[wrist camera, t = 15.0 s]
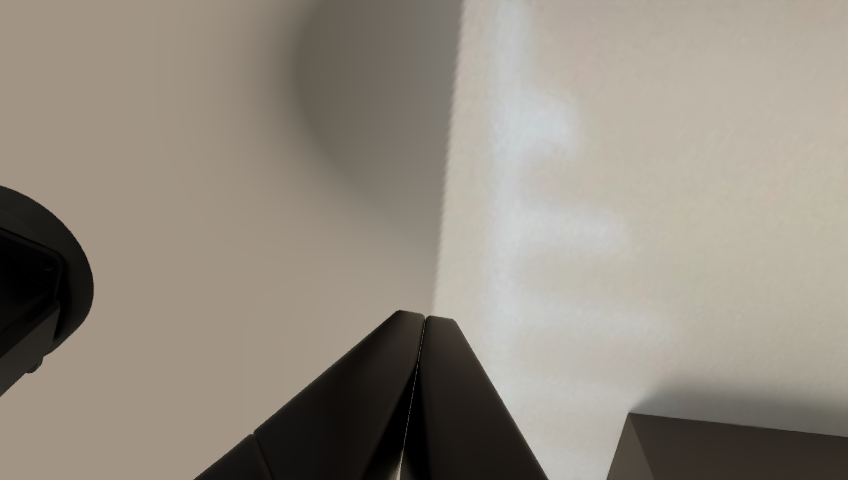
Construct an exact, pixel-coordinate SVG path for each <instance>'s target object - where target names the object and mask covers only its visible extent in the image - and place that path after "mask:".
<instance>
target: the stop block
mask: <svg viewBox="0 0 848 480" xmlns="http://www.w3.org/2000/svg"><path fill="white" fill-rule="evenodd" d="M607 480H848V437H839V436H830V435H821V434H812V433H803V432H794V431H785V430H776V429H767V428H758V427H749V426H740V425H731V424H722V423H713V422H704V421H695V420H686V419H677V418H668V417H659V416H651V415H642V414H633V413H629V414H628V416H627V419H626V422H625V425H624V428H623V431H622V435H621V438H620V441H619V444H618V447H617V450H616V453H615V456H614V459H613V462H612V465H611V468H610V471H609V474H608V477H607Z"/></svg>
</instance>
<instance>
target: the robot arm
mask: <svg viewBox="0 0 848 480" xmlns="http://www.w3.org/2000/svg"><path fill="white" fill-rule="evenodd" d="M47 259H49V260H50V261H52V263H53V265H52V264H50V263H49V262H48V260H47ZM65 265H66V260H65V258H64V256H63V255H62V254H61V253H60V252H59V251H57V250H55V249H53V248H50V247H48V246H45V245H43V244H40V243H38V242H36V241H33V240H31V239H28V238H26V237H23V236H21V235H19V234H16V233H14V232H11V231H9V230H7V229H4V228H2V227H0V397H1V396H2V395H3V394H4V393H5V392H6V391H7V390H8V389H9V388H10V387H11V386H12V385H13V384H14V383H15V382H17V381H18V380H19V379H20V378H21V377H22V376H23V375H24V374H25V373H33V372H34V371H36V370H37V369H38V368H39V367H40V366H41V364H42V361H43V357H44V355H45V354H46V353H47V352H48V351H49V350H50V349H51V346H52V341H53V337H54V333H55V329H56V325H57V321H58V317H59V313H60V309H61V307H60V304H59V301H57V299H58V295H59V291H60V286H61V282H62V278H63V274H64V270H65ZM424 324H425V326H424ZM423 330H424V332H423ZM422 336H423V338H422ZM421 342H422V344H421ZM420 347H421V350H420ZM419 353H420V355H419ZM418 359H419V361H418ZM417 365H418V367H417ZM416 371H417V373H416ZM415 377H416V379H415ZM414 382H415V385H414ZM413 388H414V390H413ZM412 394H413V396H412ZM411 400H412V402H411ZM410 406H411V408H410ZM409 412H410V414H409ZM408 417H409V420H408ZM407 423H408V425H407ZM406 429H407V431H406ZM405 435H406V437H405ZM404 441H405V443H404ZM403 447H404V449H403ZM402 452H403V455H402ZM401 457H402V463H401V471H400V480H549V479H548V478H547V476H546V474H545V473H544V471H543V469H542V468H541V466H540V464H539V462H538V461H537V459H536V457H535V456H534V454H533V452H532V451H531V449H530V447H529V445H528V444H527V442H526V440H525V439H524V437H523V435H522V434H521V432H520V430H519V428H518V427H517V425H516V423H515V422H514V420H513V418H512V417H511V415H510V413H509V411H508V410H507V408H506V406H505V405H504V403H503V401H502V400H501V398H500V396H499V394H498V393H497V391H496V389H495V388H494V386H493V384H492V382H491V381H490V379H489V377H488V376H487V374H486V372H485V371H484V369H483V367H482V365H481V364H480V362H479V360H478V359H477V357H476V355H475V354H474V352H473V350H472V348H471V347H470V345H469V343H468V342H467V340H466V338H465V337H464V335H463V333H462V331H461V330H460V328H459V326H458V325H457V323H456V322H455V321H454V320H453V319H449V318H443V317H437V316H428V317H427V318H426V320H425V316H424V315H423V314H420V313H414V312H408V311H402V310H399V311H396V312H395V313H394V314H392V315H391V316H390V317H389V318H388V319H387V320H385V321H384V322H383V323H382V324H381V325H380V326H378V327H377V328H376V329H375V330H374V331H372V332H371V333H370V334H369V335H368V336H366V337H365V338H364V339H363V340H362V341H360V342H359V343H358V344H357V345H356V346H354V347H353V348H352V349H351V350H350V351H348V353H346V354H345V355H344V356H343V357H341V358H340V359H339V360H338V361H337V362H335V363H334V364H333V365H332V366H331V367H329V368H328V369H327V370H326V371H325V372H323V373H322V374H321V375H320V376H319V377H318V378H317V379H315V380H314V381H313V382H312V383H310V384H309V385H308V386H307V387H306V388H304V389H303V390H302V391H301V392H300V393H298V394H297V395H296V396H295V397H294V398H293V399H291V400H290V401H289V402H288V403H287V404H285V405H284V406H283V407H282V408H281V409H280V410H278V411H277V412H276V413H275V414H274V415H272V416H271V417H270V418H269V419H268V420H266V421H265V422H264V423H263V424H262V425H260V427H258V428H257V429H256V430H255V431H254V433H253V434H250V435H248V436H247V437H246V438H244V439H243V440H242V441H241V442H240V443H239V444H237V445H236V446H235V447H234V448H233V449H232V450H230V451H229V452H228V453H227V454H225V455H224V456H223V457H222V458H221V459H219V460H218V461H217V462H215V463H214V464H213V465H211V466H210V467H209V468H208V469H206V470H205V471H204V472H203V473H201V474H200V475H199V476H198V477H196V478H195V479H194V480H396V478H397V474H398V471H399V467H400V462H401Z"/></svg>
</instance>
